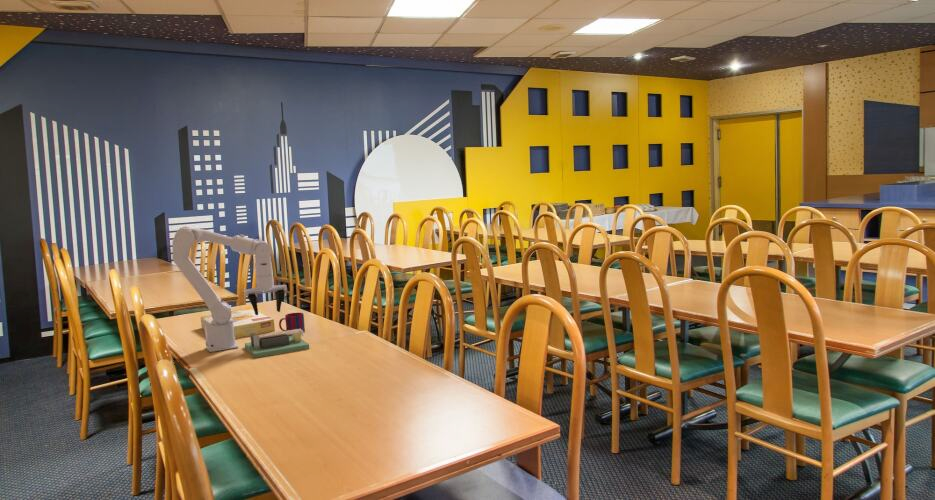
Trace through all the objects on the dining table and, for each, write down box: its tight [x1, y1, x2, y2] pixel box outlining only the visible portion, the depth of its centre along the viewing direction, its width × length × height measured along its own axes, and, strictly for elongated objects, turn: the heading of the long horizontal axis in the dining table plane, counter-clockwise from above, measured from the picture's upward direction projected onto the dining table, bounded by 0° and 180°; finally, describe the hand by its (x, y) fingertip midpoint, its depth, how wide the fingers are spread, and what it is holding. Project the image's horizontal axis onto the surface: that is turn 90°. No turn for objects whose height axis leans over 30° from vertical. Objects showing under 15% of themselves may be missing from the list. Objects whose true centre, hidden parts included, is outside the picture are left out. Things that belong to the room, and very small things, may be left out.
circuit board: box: [244, 335, 310, 359], centre depth 223 cm, size 18×16×2 cm
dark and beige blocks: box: [249, 332, 302, 350], centre depth 223 cm, size 16×8×4 cm, turn 119°
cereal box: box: [200, 307, 276, 339], centre depth 254 cm, size 20×6×28 cm
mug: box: [278, 312, 306, 333], centre depth 244 cm, size 7×10×7 cm
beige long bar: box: [254, 329, 304, 339], centre depth 223 cm, size 16×4×2 cm, turn 119°
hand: (267, 313), depth 231 cm, fingers open, 7 cm apart
